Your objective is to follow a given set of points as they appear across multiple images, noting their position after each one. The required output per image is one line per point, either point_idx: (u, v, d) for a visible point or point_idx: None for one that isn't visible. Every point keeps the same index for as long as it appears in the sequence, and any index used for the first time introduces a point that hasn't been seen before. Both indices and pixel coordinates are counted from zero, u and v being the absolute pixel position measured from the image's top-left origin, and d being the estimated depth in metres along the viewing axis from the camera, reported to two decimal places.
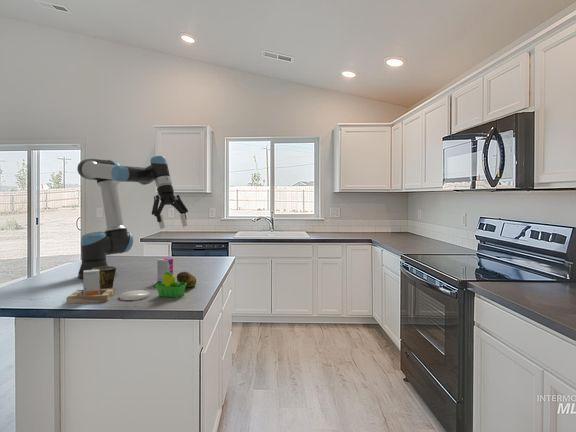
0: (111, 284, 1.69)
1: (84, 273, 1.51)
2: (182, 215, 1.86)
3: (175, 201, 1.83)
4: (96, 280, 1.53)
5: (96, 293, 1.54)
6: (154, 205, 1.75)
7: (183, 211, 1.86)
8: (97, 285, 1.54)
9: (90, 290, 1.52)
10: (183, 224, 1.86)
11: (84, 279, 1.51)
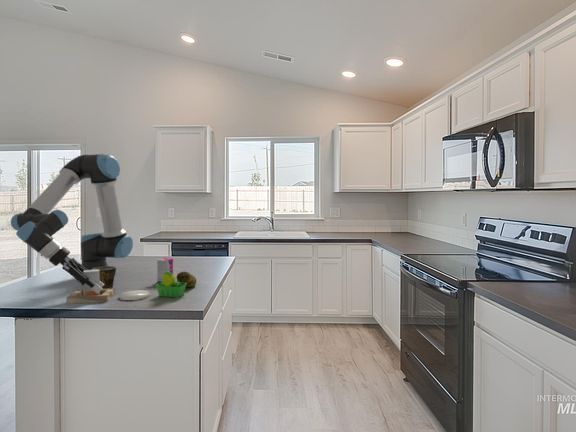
0: (111, 284, 1.69)
1: (84, 273, 1.51)
2: None
3: None
4: (96, 280, 1.53)
5: (96, 293, 1.54)
6: None
7: None
8: None
9: (90, 290, 1.52)
10: None
11: None
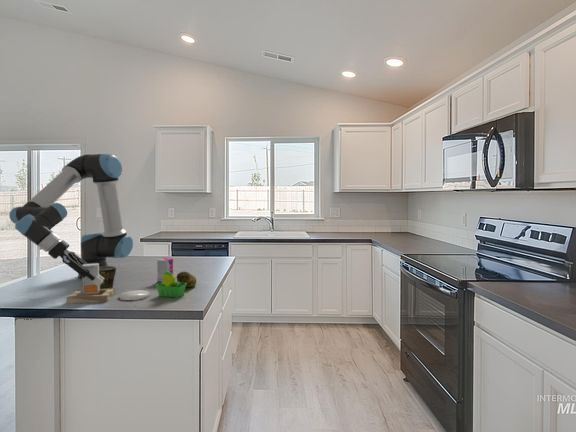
0: (111, 284, 1.69)
1: None
2: None
3: None
4: (95, 274, 1.53)
5: (95, 287, 1.53)
6: None
7: None
8: None
9: (89, 284, 1.52)
10: None
11: None
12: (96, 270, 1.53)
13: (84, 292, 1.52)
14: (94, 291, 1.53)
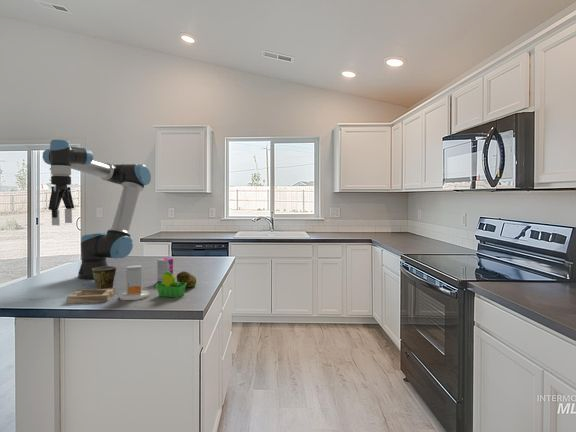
0: (111, 284, 1.69)
1: (127, 269, 1.54)
2: None
3: None
4: (139, 276, 1.56)
5: (138, 288, 1.56)
6: None
7: None
8: (139, 281, 1.56)
9: (133, 285, 1.56)
10: None
11: (127, 274, 1.55)
12: (140, 272, 1.56)
13: (128, 293, 1.55)
14: (137, 292, 1.56)
